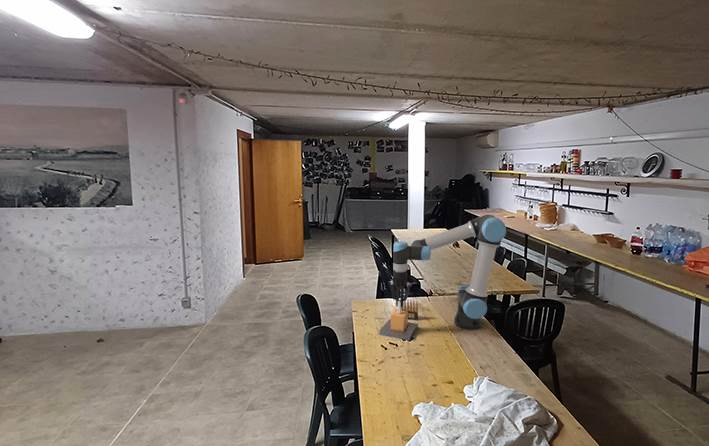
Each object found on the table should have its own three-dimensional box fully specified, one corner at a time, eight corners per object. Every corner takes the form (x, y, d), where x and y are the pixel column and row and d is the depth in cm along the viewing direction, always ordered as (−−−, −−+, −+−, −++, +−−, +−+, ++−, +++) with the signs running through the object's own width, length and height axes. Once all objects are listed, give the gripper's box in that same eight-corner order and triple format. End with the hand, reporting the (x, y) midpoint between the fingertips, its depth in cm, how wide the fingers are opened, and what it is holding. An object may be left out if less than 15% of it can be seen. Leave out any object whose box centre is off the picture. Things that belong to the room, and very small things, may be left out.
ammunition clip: (418, 319, 233) (418, 300, 231) (417, 320, 231) (418, 301, 229) (400, 317, 236) (400, 297, 234) (399, 318, 235) (400, 299, 233)
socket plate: (418, 327, 221) (418, 323, 220) (409, 340, 205) (409, 336, 205) (389, 322, 228) (389, 319, 227) (379, 334, 212) (379, 330, 212)
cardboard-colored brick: (407, 328, 219) (407, 311, 217) (403, 334, 211) (403, 317, 210) (395, 326, 221) (395, 309, 220) (390, 332, 214) (390, 314, 213)
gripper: (413, 269, 212) (413, 311, 216) (390, 267, 217) (390, 308, 221) (410, 273, 205) (409, 316, 209) (386, 270, 210) (386, 312, 214)
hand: (399, 312), depth 215 cm, fingers closed
